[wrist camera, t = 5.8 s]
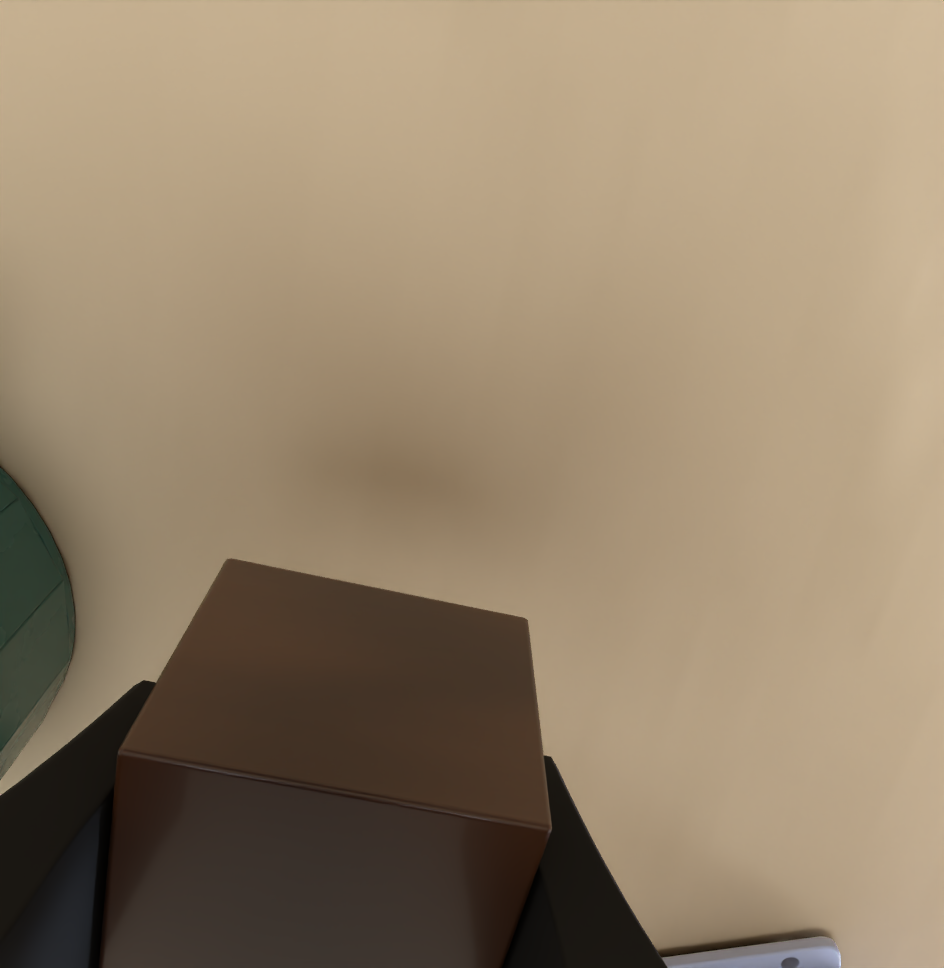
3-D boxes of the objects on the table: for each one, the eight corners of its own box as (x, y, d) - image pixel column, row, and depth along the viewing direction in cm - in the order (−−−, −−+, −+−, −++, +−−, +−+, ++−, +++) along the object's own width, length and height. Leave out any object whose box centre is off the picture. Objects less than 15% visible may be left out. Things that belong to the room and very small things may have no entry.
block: (529, 616, 12) (554, 828, 8) (461, 838, 14) (457, 1097, 10) (226, 555, 12) (114, 749, 8) (194, 791, 13) (90, 1042, 10)
